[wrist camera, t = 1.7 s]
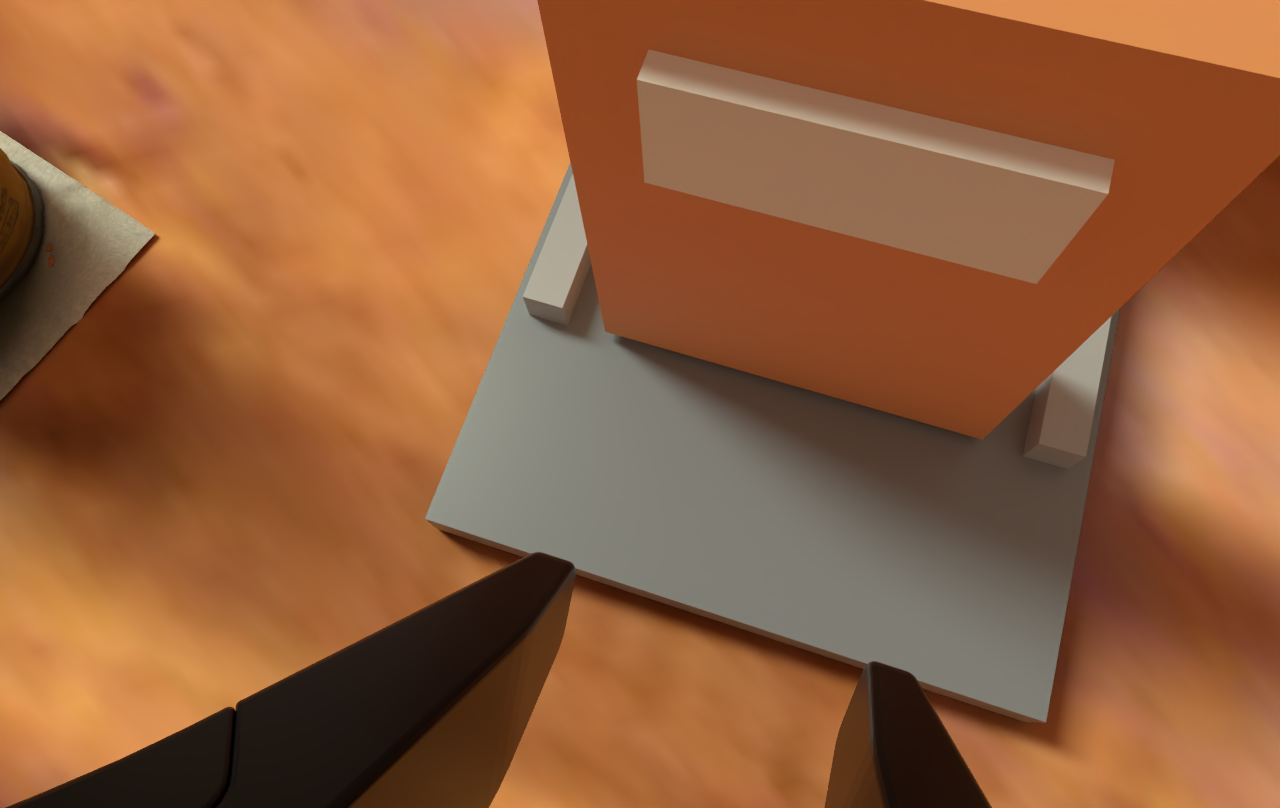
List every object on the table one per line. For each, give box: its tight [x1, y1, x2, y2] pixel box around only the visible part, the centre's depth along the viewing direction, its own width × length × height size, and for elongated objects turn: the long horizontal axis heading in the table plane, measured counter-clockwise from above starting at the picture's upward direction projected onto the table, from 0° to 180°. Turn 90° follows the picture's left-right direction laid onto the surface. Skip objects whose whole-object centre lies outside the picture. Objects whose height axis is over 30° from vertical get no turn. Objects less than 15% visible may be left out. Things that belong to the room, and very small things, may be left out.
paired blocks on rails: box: [425, 163, 1120, 722], centre depth 19 cm, size 20×14×11 cm
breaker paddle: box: [538, 0, 1280, 440], centre depth 16 cm, size 2×9×12 cm, turn 72°
